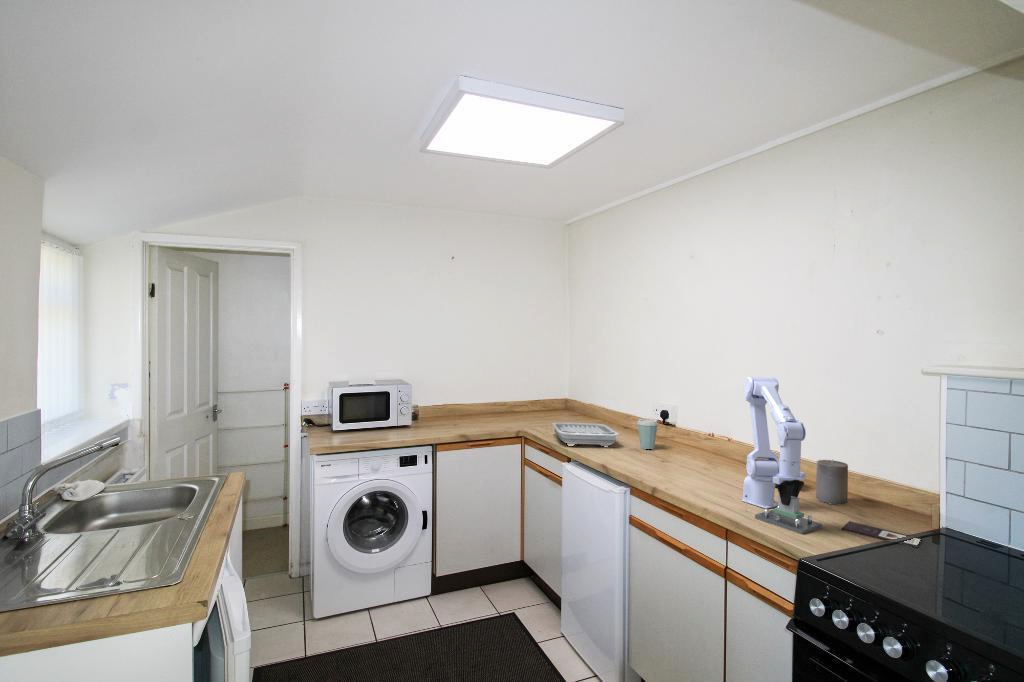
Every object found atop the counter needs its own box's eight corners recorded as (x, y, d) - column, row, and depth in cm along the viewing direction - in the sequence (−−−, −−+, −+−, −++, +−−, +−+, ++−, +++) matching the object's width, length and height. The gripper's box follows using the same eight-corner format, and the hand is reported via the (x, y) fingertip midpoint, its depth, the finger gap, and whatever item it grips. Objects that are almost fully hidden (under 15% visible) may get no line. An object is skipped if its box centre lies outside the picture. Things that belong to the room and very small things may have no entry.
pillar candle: (842, 498, 191) (843, 457, 191) (851, 506, 181) (852, 463, 181) (812, 495, 193) (813, 455, 193) (819, 503, 184) (820, 461, 184)
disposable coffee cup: (654, 452, 259) (655, 422, 258) (633, 449, 264) (634, 419, 264) (659, 448, 268) (660, 419, 268) (639, 445, 273) (640, 417, 273)
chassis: (755, 518, 166) (755, 508, 166) (775, 512, 172) (775, 503, 172) (801, 534, 154) (802, 523, 154) (822, 527, 159) (822, 517, 159)
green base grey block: (773, 512, 165) (774, 494, 165) (781, 510, 167) (781, 492, 167) (796, 519, 159) (796, 500, 159) (803, 516, 161) (804, 498, 161)
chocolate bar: (849, 521, 165) (921, 538, 152) (849, 524, 165) (921, 541, 152) (841, 528, 158) (916, 546, 146) (841, 531, 158) (916, 549, 146)
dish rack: (604, 436, 299) (605, 422, 299) (621, 450, 262) (622, 434, 262) (549, 435, 297) (550, 421, 297) (559, 449, 261) (559, 433, 261)
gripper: (789, 465, 155) (787, 511, 156) (815, 461, 163) (814, 504, 163) (766, 460, 161) (765, 504, 162) (793, 456, 169) (792, 498, 169)
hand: (788, 504), depth 163 cm, fingers closed on green base grey block, 3 cm apart
